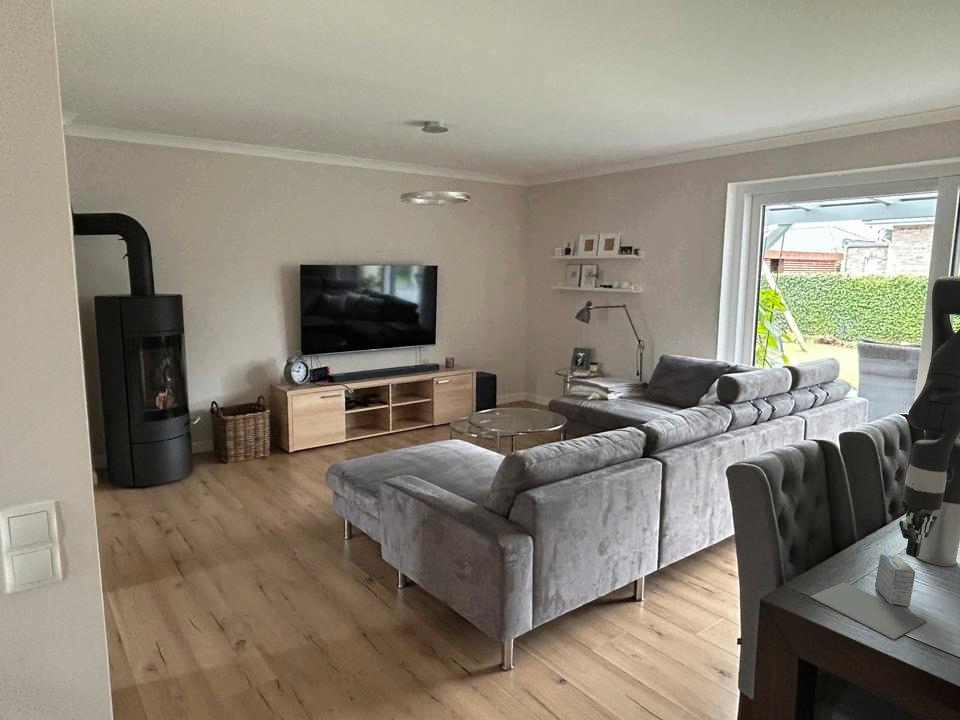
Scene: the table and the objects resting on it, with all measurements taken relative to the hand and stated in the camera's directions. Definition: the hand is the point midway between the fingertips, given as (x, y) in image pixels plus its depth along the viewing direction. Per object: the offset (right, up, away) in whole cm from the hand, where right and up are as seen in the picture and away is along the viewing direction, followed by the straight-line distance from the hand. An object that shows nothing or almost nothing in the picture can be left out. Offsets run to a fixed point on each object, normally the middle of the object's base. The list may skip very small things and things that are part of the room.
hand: (912, 555), depth 147 cm
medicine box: (-6, -9, -2) cm, 11 cm away
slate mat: (-15, -10, -8) cm, 20 cm away
